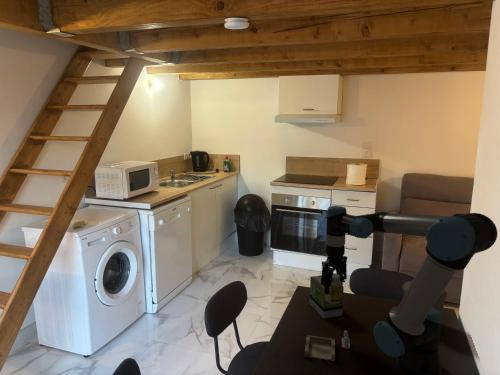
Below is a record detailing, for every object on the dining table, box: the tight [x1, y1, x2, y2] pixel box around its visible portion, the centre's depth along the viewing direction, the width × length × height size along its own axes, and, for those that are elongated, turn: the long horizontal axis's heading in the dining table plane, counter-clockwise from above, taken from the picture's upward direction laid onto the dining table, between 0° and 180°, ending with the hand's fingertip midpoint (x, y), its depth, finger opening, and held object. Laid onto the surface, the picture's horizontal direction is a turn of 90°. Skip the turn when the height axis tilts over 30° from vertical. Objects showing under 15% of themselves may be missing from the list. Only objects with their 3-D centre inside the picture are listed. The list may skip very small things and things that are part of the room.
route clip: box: [341, 330, 351, 350], centre depth 150 cm, size 3×6×4 cm, turn 168°
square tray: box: [304, 334, 336, 362], centre depth 145 cm, size 11×11×3 cm
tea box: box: [309, 274, 345, 319], centre depth 177 cm, size 15×10×15 cm
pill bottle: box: [328, 272, 341, 304], centre depth 153 cm, size 6×6×11 cm
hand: (333, 298), depth 154 cm, fingers closed on pill bottle, 6 cm apart
